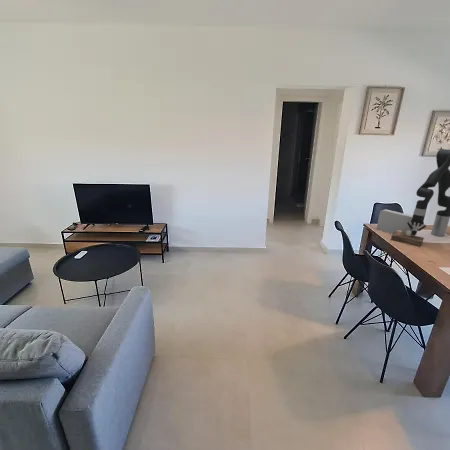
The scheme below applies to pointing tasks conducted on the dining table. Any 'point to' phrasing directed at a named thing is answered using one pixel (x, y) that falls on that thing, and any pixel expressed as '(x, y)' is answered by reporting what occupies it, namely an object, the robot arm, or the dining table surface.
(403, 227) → the rounded white slab
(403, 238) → the console
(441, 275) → the dining table surface
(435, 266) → the dining table surface
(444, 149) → the robot arm
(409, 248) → the dining table surface
